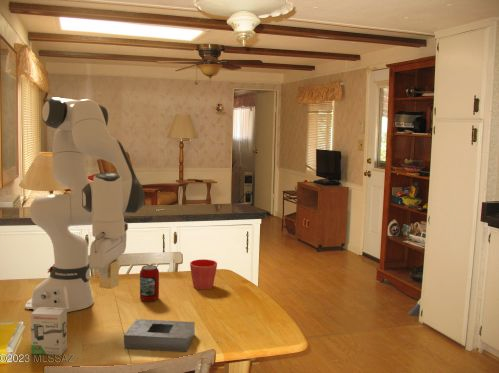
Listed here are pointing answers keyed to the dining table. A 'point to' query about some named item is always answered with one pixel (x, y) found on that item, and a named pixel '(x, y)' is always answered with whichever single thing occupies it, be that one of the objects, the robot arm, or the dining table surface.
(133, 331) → the jig
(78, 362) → the dining table surface
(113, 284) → the tilted wooden brick
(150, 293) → the beverage can
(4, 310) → the dining table surface
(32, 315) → the ink box
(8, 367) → the dining table surface
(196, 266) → the flower pot
